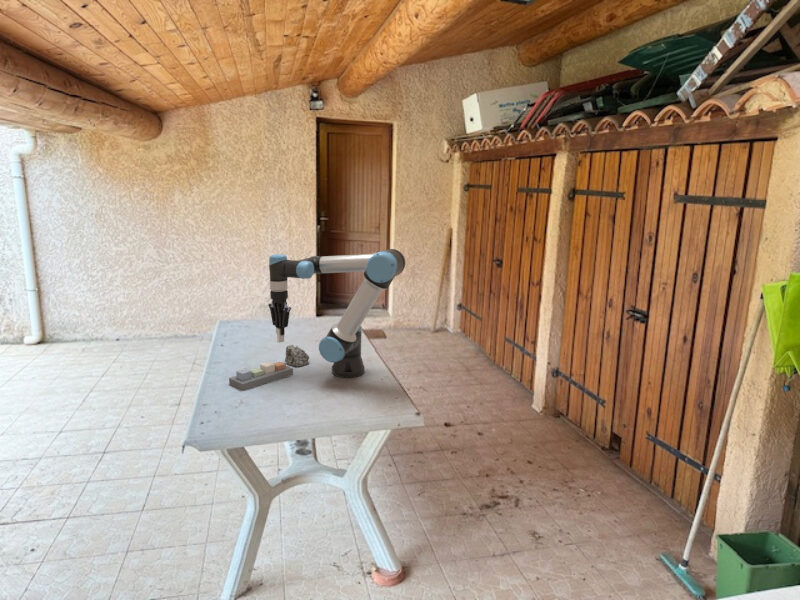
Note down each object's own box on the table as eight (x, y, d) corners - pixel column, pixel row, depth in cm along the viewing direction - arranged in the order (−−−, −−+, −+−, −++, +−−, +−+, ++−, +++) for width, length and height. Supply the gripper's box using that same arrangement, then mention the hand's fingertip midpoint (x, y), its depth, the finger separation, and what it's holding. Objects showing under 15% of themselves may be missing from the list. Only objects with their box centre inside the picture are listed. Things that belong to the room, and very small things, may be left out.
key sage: (263, 379, 222) (263, 370, 221) (254, 381, 219) (254, 373, 218) (257, 376, 225) (257, 368, 224) (248, 379, 222) (248, 370, 221)
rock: (276, 366, 246) (279, 354, 239) (286, 352, 253) (289, 340, 245) (301, 378, 245) (304, 367, 238) (310, 364, 252) (314, 352, 245)
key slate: (251, 380, 217) (251, 371, 217) (242, 382, 214) (242, 373, 213) (245, 377, 220) (245, 368, 219) (236, 380, 217) (236, 371, 216)
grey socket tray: (293, 374, 231) (292, 368, 230) (242, 391, 212) (242, 384, 211) (279, 369, 237) (279, 363, 237) (229, 384, 218) (229, 377, 217)
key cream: (274, 372, 227) (274, 364, 226) (266, 375, 223) (266, 366, 222) (268, 370, 229) (268, 361, 228) (260, 372, 226) (260, 364, 225)
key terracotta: (285, 372, 231) (285, 363, 230) (277, 374, 228) (277, 366, 227) (279, 369, 234) (279, 361, 233) (271, 372, 231) (271, 363, 230)
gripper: (295, 290, 223) (296, 342, 228) (276, 286, 231) (278, 337, 236) (281, 293, 217) (283, 346, 222) (262, 289, 225) (264, 340, 230)
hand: (280, 341), depth 229 cm, fingers closed
